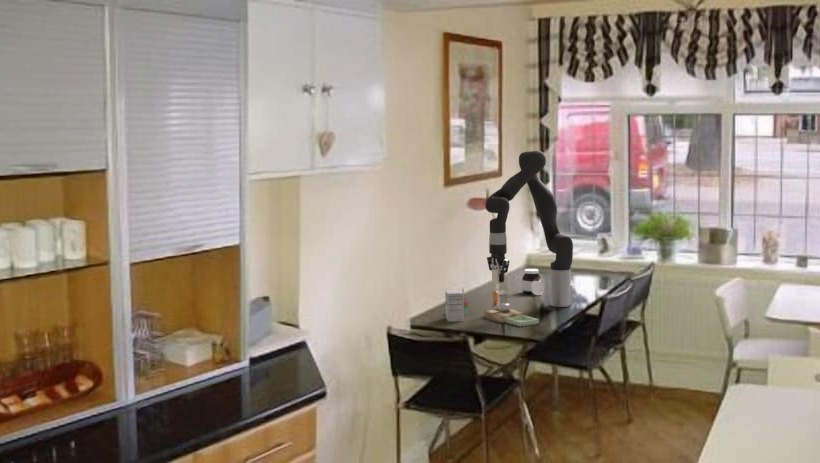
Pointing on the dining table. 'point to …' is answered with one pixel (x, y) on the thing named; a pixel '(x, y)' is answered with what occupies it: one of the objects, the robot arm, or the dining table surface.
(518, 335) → the dining table surface
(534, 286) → the spread jar
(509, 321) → the tray
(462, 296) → the supplement box
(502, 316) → the plinth
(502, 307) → the crank
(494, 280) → the block
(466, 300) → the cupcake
